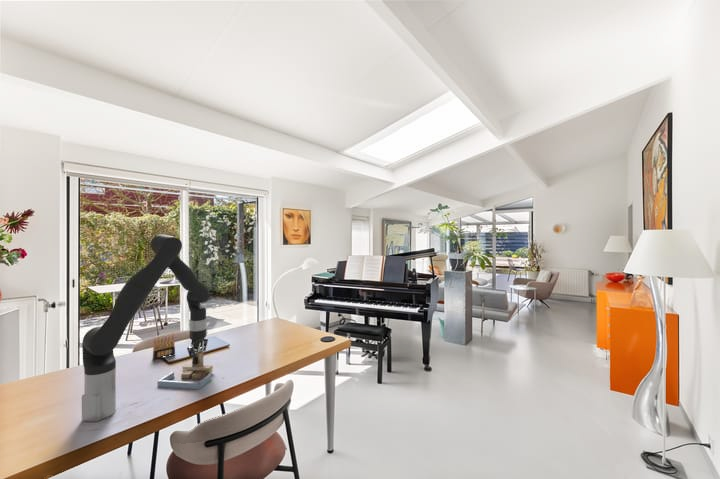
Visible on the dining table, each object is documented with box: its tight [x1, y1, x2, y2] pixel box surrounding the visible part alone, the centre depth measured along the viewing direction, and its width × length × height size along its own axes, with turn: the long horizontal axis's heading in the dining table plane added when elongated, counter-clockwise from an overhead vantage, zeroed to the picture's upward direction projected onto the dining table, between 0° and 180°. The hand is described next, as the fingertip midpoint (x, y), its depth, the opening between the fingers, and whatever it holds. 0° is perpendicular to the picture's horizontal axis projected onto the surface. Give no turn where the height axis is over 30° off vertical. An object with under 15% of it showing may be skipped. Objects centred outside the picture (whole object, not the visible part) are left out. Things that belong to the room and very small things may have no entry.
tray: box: [157, 371, 212, 390], centre depth 146 cm, size 10×20×2 cm, turn 84°
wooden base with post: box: [182, 351, 214, 375], centre depth 155 cm, size 3×14×10 cm, turn 84°
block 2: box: [191, 370, 207, 381], centre depth 151 cm, size 5×4×2 cm
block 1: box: [180, 370, 196, 380], centre depth 152 cm, size 5×4×2 cm
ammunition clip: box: [152, 334, 176, 361], centre depth 175 cm, size 11×2×12 cm, turn 139°
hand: (197, 362), depth 155 cm, fingers closed on wooden base with post, 3 cm apart
